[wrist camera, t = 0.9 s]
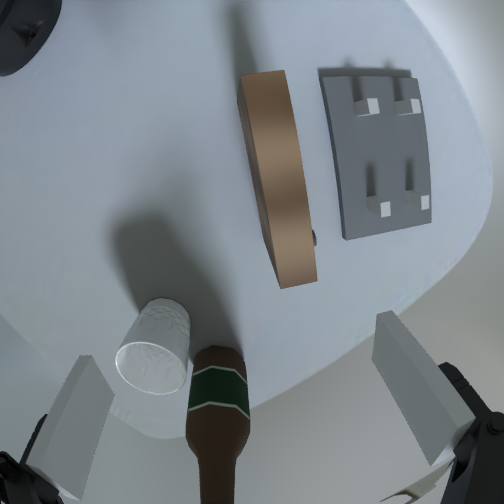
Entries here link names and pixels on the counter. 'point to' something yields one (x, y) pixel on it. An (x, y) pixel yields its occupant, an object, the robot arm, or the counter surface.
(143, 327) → the white cup
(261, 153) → the brown wooden board
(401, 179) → the board
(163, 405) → the counter surface
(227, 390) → the beer bottle
